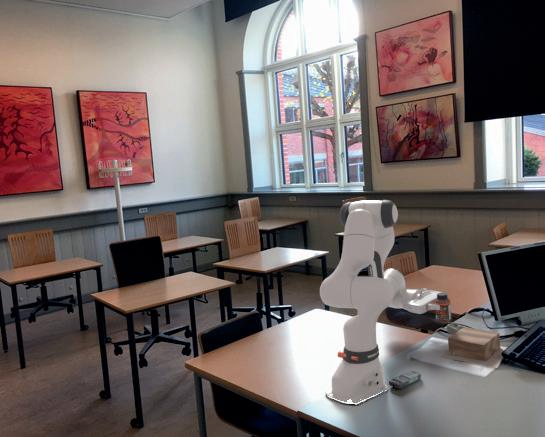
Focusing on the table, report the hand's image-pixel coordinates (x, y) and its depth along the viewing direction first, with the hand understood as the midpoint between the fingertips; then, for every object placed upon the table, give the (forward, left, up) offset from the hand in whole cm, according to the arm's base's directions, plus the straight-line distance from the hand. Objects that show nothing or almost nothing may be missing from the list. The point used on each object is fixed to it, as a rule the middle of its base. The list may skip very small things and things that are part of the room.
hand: (444, 304), depth 196 cm
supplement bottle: (0, +1, -7) cm, 7 cm away
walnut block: (0, -11, -17) cm, 20 cm away
